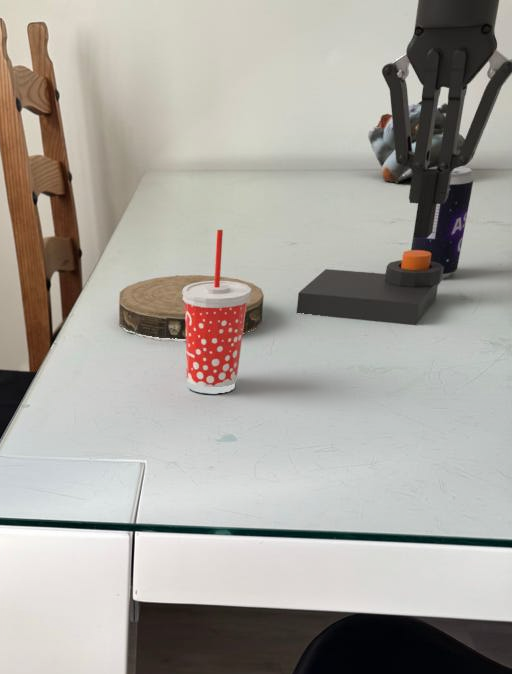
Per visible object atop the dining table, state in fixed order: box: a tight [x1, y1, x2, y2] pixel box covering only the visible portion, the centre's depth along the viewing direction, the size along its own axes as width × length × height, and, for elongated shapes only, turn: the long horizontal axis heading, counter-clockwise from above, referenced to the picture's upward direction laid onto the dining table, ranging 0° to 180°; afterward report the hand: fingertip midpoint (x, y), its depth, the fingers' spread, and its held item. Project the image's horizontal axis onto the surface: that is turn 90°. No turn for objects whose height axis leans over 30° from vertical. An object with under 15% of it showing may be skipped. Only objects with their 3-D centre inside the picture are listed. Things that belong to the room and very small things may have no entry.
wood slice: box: [118, 274, 265, 339], centre depth 112 cm, size 16×16×3 cm
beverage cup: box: [182, 229, 251, 387], centre depth 91 cm, size 6×6×14 cm
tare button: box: [401, 249, 431, 270], centre depth 112 cm, size 3×3×2 cm
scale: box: [296, 259, 444, 326], centre depth 113 cm, size 13×12×4 cm
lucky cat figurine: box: [367, 100, 465, 184], centre depth 175 cm, size 15×12×14 cm
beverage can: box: [410, 166, 474, 280], centre depth 120 cm, size 6×6×12 cm
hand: (422, 234), depth 111 cm, fingers closed
